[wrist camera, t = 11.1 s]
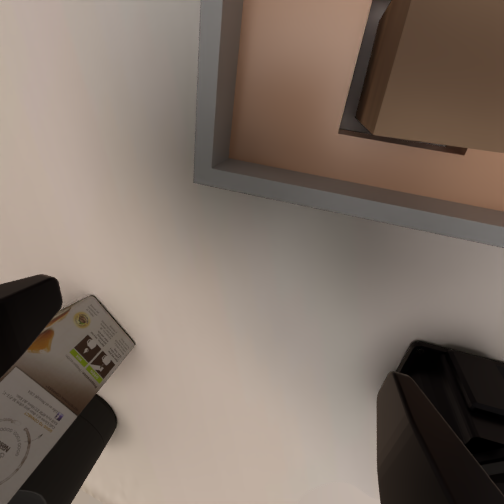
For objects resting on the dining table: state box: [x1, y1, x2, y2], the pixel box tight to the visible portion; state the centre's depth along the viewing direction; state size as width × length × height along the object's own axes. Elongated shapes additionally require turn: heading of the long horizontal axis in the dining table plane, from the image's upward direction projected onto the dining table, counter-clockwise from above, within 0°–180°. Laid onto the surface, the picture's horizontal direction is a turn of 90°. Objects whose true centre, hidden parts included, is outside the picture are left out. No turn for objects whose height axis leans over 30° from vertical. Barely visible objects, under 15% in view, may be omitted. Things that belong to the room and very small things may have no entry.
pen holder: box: [8, 394, 116, 504], centre depth 31 cm, size 9×9×10 cm
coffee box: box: [0, 296, 135, 504], centre depth 22 cm, size 9×6×16 cm
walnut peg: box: [355, 0, 504, 153], centre depth 11 cm, size 4×4×8 cm
